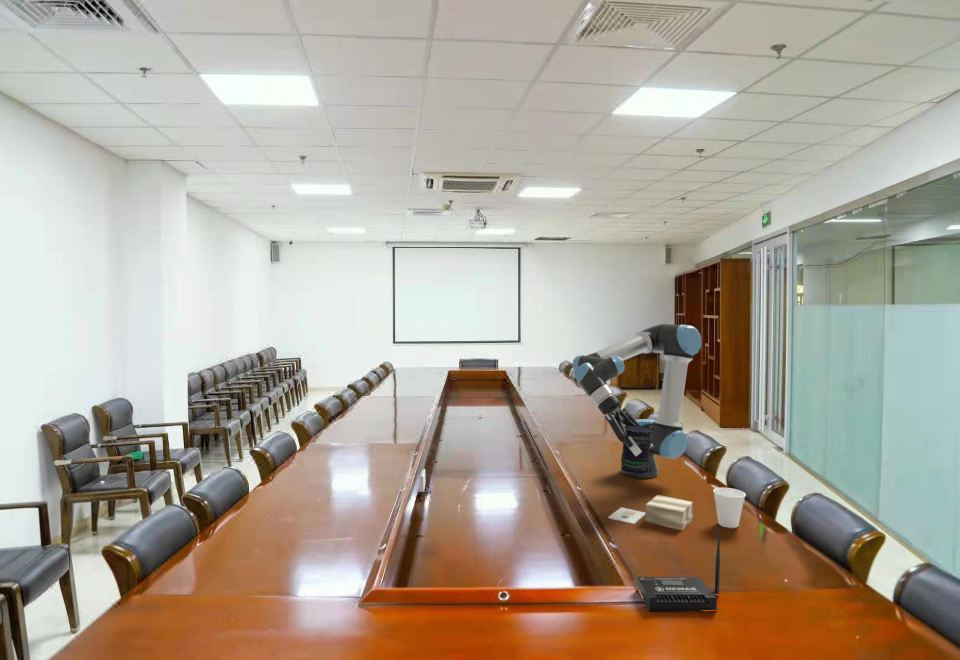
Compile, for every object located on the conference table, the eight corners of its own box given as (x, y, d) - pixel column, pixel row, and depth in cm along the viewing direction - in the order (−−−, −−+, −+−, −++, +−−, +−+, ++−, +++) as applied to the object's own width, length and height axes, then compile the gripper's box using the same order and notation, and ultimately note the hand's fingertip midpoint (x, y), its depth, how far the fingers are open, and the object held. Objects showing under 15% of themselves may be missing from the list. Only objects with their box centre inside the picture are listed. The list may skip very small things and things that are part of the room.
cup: (748, 532, 188) (749, 498, 187) (715, 529, 190) (716, 495, 189) (740, 520, 198) (741, 488, 197) (709, 518, 200) (710, 486, 199)
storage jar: (618, 465, 214) (620, 424, 213) (646, 467, 213) (648, 426, 212) (623, 473, 204) (625, 431, 203) (652, 475, 203) (654, 432, 202)
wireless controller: (651, 617, 137) (653, 545, 136) (634, 588, 151) (636, 522, 150) (736, 617, 137) (739, 545, 136) (711, 588, 151) (713, 523, 150)
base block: (656, 511, 205) (657, 494, 205) (692, 519, 198) (693, 501, 198) (645, 522, 195) (645, 504, 195) (682, 530, 188) (682, 512, 188)
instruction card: (621, 508, 208) (621, 507, 208) (646, 513, 203) (646, 512, 203) (608, 518, 199) (608, 517, 199) (633, 524, 193) (633, 522, 193)
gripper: (611, 402, 225) (648, 451, 217) (584, 410, 207) (624, 463, 199) (625, 390, 222) (663, 439, 213) (599, 397, 204) (640, 451, 195)
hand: (644, 451), depth 206 cm, fingers closed on storage jar, 10 cm apart
